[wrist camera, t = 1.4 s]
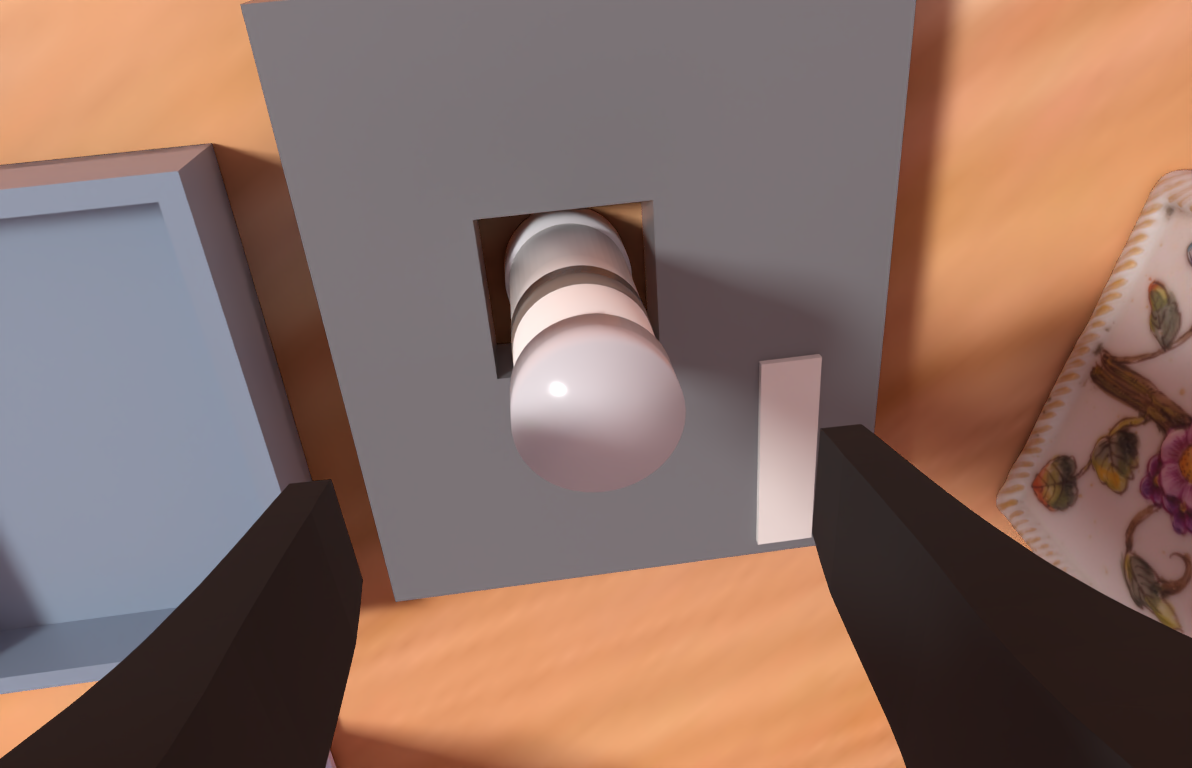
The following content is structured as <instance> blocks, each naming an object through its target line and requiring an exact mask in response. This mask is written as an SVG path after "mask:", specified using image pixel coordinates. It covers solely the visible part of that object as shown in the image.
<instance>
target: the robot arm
mask: <svg viewBox="0 0 1192 768" xmlns="http://www.w3.org/2000/svg"><path fill="white" fill-rule="evenodd" d="M812 534H813V538H814V541H815V545H816V548H817V551H818V555H819V558H820V562H821V565H822V568H823V572H824V575H825V578H826V581H827V584H828V587H829V590H830V593H831V596H832V598H833V600H834V602H835V605H836V607H837V609H838V612H839V614H840V616H841V618H842V621H843V623H844V625H845V627H846V629H847V632H848V634H849V636H850V638H851V641H852V643H853V645H854V647H855V649H856V652H857V654H858V656H859V658H860V660H861V663H862V665H863V667H864V669H865V671H866V674H867V676H868V678H869V680H870V682H871V685H872V687H873V689H874V691H875V693H876V696H877V698H878V700H879V702H880V704H881V707H882V709H883V711H884V713H885V715H886V718H887V720H888V722H889V724H890V727H891V729H892V732H893V734H894V736H895V739H896V741H897V744H898V746H899V749H900V751H901V754H902V757H903V759H904V762H905V765H906V768H1192V638H1191V637H1189V636H1187V635H1185V634H1182V633H1180V632H1178V631H1176V630H1174V629H1172V628H1170V627H1168V626H1166V625H1164V624H1162V623H1160V622H1158V621H1156V620H1154V619H1152V618H1150V617H1148V616H1146V615H1144V614H1142V613H1139V612H1137V611H1135V610H1133V609H1131V608H1129V607H1127V606H1125V605H1124V604H1122V603H1120V602H1118V601H1116V600H1114V599H1112V598H1110V597H1108V596H1106V595H1105V594H1103V593H1101V592H1099V591H1097V590H1096V589H1094V588H1092V587H1090V586H1089V585H1087V584H1085V583H1083V582H1082V581H1080V580H1078V579H1076V578H1075V577H1073V576H1071V575H1070V574H1068V573H1066V572H1064V571H1063V570H1061V569H1059V568H1057V567H1056V566H1054V565H1052V564H1051V563H1049V562H1047V561H1046V560H1044V559H1043V558H1041V557H1039V556H1038V555H1036V554H1035V553H1033V552H1031V551H1030V550H1028V549H1027V548H1025V547H1024V546H1022V545H1021V544H1019V543H1018V542H1016V541H1015V540H1013V539H1012V538H1010V537H1009V536H1007V535H1006V534H1004V533H1003V532H1001V531H1000V530H999V529H997V528H996V527H994V526H993V525H991V524H990V523H988V522H987V521H985V520H984V519H983V518H981V517H980V516H979V515H977V514H976V513H974V512H973V511H972V510H970V509H969V508H967V507H966V506H965V505H963V504H962V503H961V502H959V501H958V500H957V499H955V498H954V497H953V496H951V495H950V494H949V493H947V492H946V491H945V490H944V489H942V488H941V487H940V486H938V485H937V484H936V483H935V482H933V481H932V480H931V479H929V478H928V477H927V476H926V475H924V474H923V473H922V472H921V471H919V470H918V469H917V468H916V467H914V466H913V465H912V464H911V463H909V462H908V461H907V460H906V459H904V458H903V457H902V456H901V455H899V454H898V453H897V452H896V451H895V450H893V449H892V448H891V447H890V446H888V445H887V444H886V443H885V442H884V441H882V440H881V439H880V438H879V437H877V436H876V435H875V434H874V433H872V432H871V431H870V430H869V429H867V428H866V427H865V426H863V425H862V424H856V425H846V426H837V427H827V428H820V438H819V451H818V463H817V476H816V488H815V500H814V513H813V525H812ZM362 583H363V579H362V576H361V573H360V570H359V566H358V563H357V560H356V557H355V554H354V550H353V547H352V544H351V541H350V538H349V535H348V531H347V528H346V525H345V522H344V519H343V515H342V512H341V509H340V506H339V503H338V500H337V496H336V493H335V490H334V487H333V484H332V480H331V479H328V480H319V481H309V482H299V483H290V484H289V485H288V486H287V487H286V488H285V489H284V490H283V491H282V492H281V493H280V494H279V496H278V497H277V498H276V499H275V500H274V501H273V502H272V504H271V505H270V506H269V507H268V508H267V509H266V510H265V512H264V513H263V514H262V515H261V516H260V517H259V518H258V520H257V521H256V522H255V523H254V524H253V525H252V526H251V528H250V529H249V530H248V531H247V532H246V533H245V535H244V536H243V537H242V538H241V539H240V540H239V541H238V542H237V544H236V545H235V546H234V547H233V548H232V549H231V550H230V551H229V553H228V554H227V555H226V556H225V557H224V558H223V559H222V560H221V561H220V563H219V564H218V565H217V566H216V567H215V568H214V569H213V570H212V571H211V573H210V574H209V575H208V576H207V577H206V578H205V579H204V580H203V581H202V582H201V584H200V585H199V586H198V587H197V588H196V589H195V590H194V591H193V592H192V593H191V594H190V595H189V596H188V597H187V598H186V599H185V600H184V601H183V602H182V603H181V604H180V605H179V606H178V607H177V608H176V609H175V610H174V611H173V612H172V613H171V614H170V615H169V616H168V617H167V618H166V619H165V620H164V621H163V622H162V623H161V624H160V625H159V626H158V627H157V628H156V629H155V630H154V631H153V632H152V633H151V634H150V635H149V636H148V637H147V638H146V639H145V640H144V641H143V642H142V643H141V644H140V645H139V646H138V647H137V648H136V649H134V650H133V651H132V652H131V653H130V654H129V655H128V656H127V657H126V658H125V659H124V660H122V661H121V662H120V663H119V664H118V665H117V666H116V667H115V668H113V669H112V670H111V671H110V672H109V673H108V674H106V675H105V676H104V677H103V678H102V679H101V680H100V681H98V682H97V683H96V684H95V685H94V686H93V687H91V688H90V689H89V690H88V691H87V692H86V693H84V694H83V695H82V696H81V697H80V698H78V699H77V700H76V701H75V702H73V703H72V704H71V705H70V706H69V707H67V708H66V709H65V710H63V711H62V712H61V713H59V714H58V715H57V716H56V717H54V718H53V719H52V720H50V721H49V722H48V723H46V724H45V725H44V726H42V727H41V728H40V729H39V730H37V731H36V732H35V733H33V734H32V735H31V736H29V737H28V738H27V739H26V740H24V741H23V742H22V743H20V744H19V745H18V746H16V747H15V748H14V749H12V750H11V751H10V752H9V753H7V754H6V755H5V756H3V757H2V758H1V759H0V768H336V765H335V763H334V760H333V757H332V754H331V751H330V748H331V744H332V740H333V736H334V732H335V728H336V724H337V720H338V716H339V712H340V708H341V704H342V700H343V696H344V691H345V687H346V683H347V679H348V675H349V671H350V667H351V662H352V658H353V654H354V650H355V645H356V639H357V631H358V622H359V614H360V604H361V594H362Z"/></svg>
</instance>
